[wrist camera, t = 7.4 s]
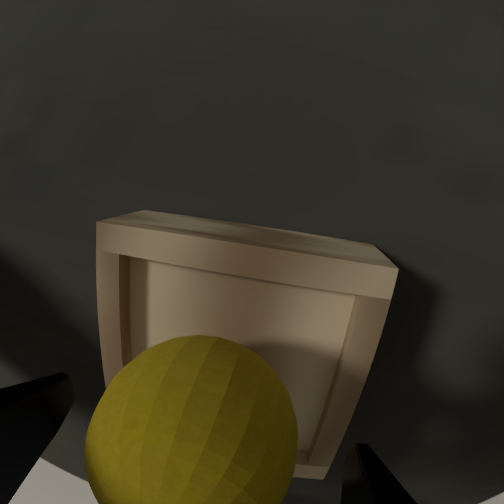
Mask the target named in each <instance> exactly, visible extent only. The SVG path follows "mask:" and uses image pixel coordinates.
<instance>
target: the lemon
mask: <svg viewBox="0 0 504 504" xmlns="http://www.w3.org/2000/svg"><path fill="white" fill-rule="evenodd" d="M297 446H298V425H297V419H296V415H295V412H294V408H293V405H292V402H291V398H290V395H289V393H288V390H287V388H286V387H285V385H284V384H283V382H282V381H281V379H280V378H279V376H278V374H277V373H276V372H275V370H274V369H273V368H272V367H271V366H270V365H269V364H268V363H267V362H266V361H265V360H264V359H263V358H261V357H260V356H259V355H258V354H257V353H255V352H253V351H251V350H250V349H248V348H246V347H244V346H243V345H241V344H239V343H236V342H233V341H230V340H227V339H224V338H221V337H214V336H205V335H192V336H183V337H176V338H172V339H170V340H167V341H165V342H162V343H159V344H157V345H154V346H152V347H150V348H148V349H147V350H145V351H143V352H142V353H141V354H139V355H138V356H137V357H136V358H134V359H133V360H132V361H131V362H129V363H128V364H127V365H126V366H125V367H123V368H122V369H121V370H120V371H119V372H118V373H117V374H116V376H115V377H114V378H113V379H112V381H111V382H110V384H109V385H108V387H107V389H106V390H105V392H104V394H103V396H102V398H101V399H100V401H99V403H98V405H97V407H96V409H95V411H94V414H93V416H92V419H91V421H90V424H89V427H88V431H87V435H86V441H85V470H86V475H87V478H88V481H89V484H90V487H91V489H92V491H93V494H94V496H95V498H96V499H97V501H98V503H99V504H281V503H282V501H283V499H284V497H285V495H286V493H287V491H288V489H289V486H290V484H291V480H292V477H293V474H294V469H295V465H296V456H297Z"/></svg>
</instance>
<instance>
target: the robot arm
mask: <svg viewBox="0 0 504 504" xmlns="http://www.w3.org/2000/svg"><path fill="white" fill-rule="evenodd" d="M75 398H76V394H75V389H74V384H73V380H72V378H71V377H70V376H69V375H66V374H64V373H57V374H54V375H50V376H46V377H43V378H39V379H36V380H32V381H28V382H24V383H21V384H17V385H13V386H9V387H5V388H1V389H0V504H8V503H9V502H10V500H11V499H12V497H13V496H14V494H15V493H16V491H17V489H18V488H19V487H20V485H21V484H22V482H23V481H24V479H25V478H26V476H27V475H28V473H29V472H30V471H31V469H32V468H33V466H34V465H35V463H36V462H37V460H38V459H39V458H40V456H41V455H42V453H43V452H44V450H45V449H46V448H47V446H48V445H49V443H50V442H51V441H52V439H53V438H54V436H55V435H56V433H57V432H58V430H59V428H60V426H61V425H62V423H63V421H64V419H65V417H66V416H67V414H68V412H69V410H70V409H71V407H72V405H73V403H74V401H75ZM341 504H417V503H416V502H415V501H414V499H413V498H412V497H411V496H410V495H409V494H408V492H407V491H406V490H405V489H404V488H403V486H402V485H401V484H400V483H399V482H398V480H397V479H396V478H395V477H394V476H393V474H392V473H391V472H390V471H389V470H388V468H387V467H386V466H385V465H384V464H383V462H382V461H381V460H380V459H379V458H378V456H377V455H376V454H375V453H374V451H373V450H372V449H371V448H370V447H369V445H367V444H362V443H355V444H353V445H352V447H351V449H350V451H349V453H348V455H347V457H346V459H345V462H344V467H343V483H342V496H341Z"/></svg>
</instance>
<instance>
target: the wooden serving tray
mask: <svg viewBox="0 0 504 504" xmlns="http://www.w3.org/2000/svg"><path fill="white" fill-rule="evenodd" d="M398 270H399V269H398V268H397V267H396V266H395V265H394V264H393V263H392V262H391V261H390V260H389V259H388V258H387V257H386V256H385V255H384V254H383V253H382V252H381V251H380V250H379V249H377V248H376V247H375V246H374V245H373V244H367V243H362V242H356V241H350V240H344V239H338V238H332V237H326V236H320V235H313V234H307V233H301V232H294V231H288V230H282V229H275V228H269V227H262V226H255V225H249V224H242V223H235V222H228V221H221V220H214V219H207V218H200V217H193V216H185V215H178V214H171V213H163V212H155V211H148V210H143V211H139V212H134V213H130V214H126V215H122V216H117V217H113V218H109V219H105V220H101V221H97V229H96V280H97V305H98V321H99V334H100V345H101V355H102V363H103V372H104V379H105V386H106V389H107V387H108V385H109V384H110V382H111V381H112V379H113V378H114V377H115V376H116V374H117V373H118V372H119V371H120V370H121V369H122V368H123V367H125V366H126V365H127V364H128V363H129V362H131V361H132V360H133V359H134V358H136V357H137V356H138V355H139V354H141V353H142V352H143V351H145V350H147V349H148V348H150V347H152V346H154V345H157V344H159V343H162V342H165V341H167V340H170V339H172V338H176V337H183V336H192V335H205V336H214V337H221V338H224V339H227V340H230V341H233V342H236V343H239V344H241V345H243V346H244V347H246V348H248V349H250V350H251V351H253V352H255V353H257V354H258V355H259V356H260V357H261V358H263V359H264V360H265V361H266V362H267V363H268V364H269V365H270V366H271V367H272V368H273V369H274V370H275V372H276V373H277V374H278V376H279V378H280V379H281V381H282V382H283V384H284V385H285V387H286V388H287V390H288V393H289V395H290V398H291V402H292V405H293V408H294V412H295V415H296V419H297V425H298V446H297V456H296V465H295V469H294V474H293V477H299V478H309V479H321V480H324V478H325V475H326V473H327V471H328V469H329V467H330V465H331V463H332V461H333V459H334V457H335V455H336V452H337V450H338V448H339V446H340V444H341V441H342V439H343V437H344V435H345V432H346V430H347V428H348V425H349V423H350V420H351V418H352V415H353V413H354V410H355V408H356V405H357V403H358V400H359V398H360V395H361V392H362V390H363V387H364V384H365V382H366V379H367V376H368V373H369V370H370V367H371V364H372V362H373V359H374V356H375V352H376V349H377V346H378V343H379V340H380V337H381V333H382V330H383V327H384V323H385V320H386V316H387V313H388V309H389V306H390V302H391V298H392V294H393V291H394V287H395V283H396V279H397V274H398Z"/></svg>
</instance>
